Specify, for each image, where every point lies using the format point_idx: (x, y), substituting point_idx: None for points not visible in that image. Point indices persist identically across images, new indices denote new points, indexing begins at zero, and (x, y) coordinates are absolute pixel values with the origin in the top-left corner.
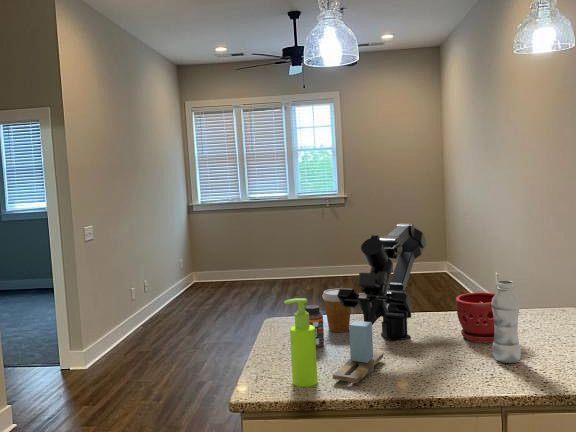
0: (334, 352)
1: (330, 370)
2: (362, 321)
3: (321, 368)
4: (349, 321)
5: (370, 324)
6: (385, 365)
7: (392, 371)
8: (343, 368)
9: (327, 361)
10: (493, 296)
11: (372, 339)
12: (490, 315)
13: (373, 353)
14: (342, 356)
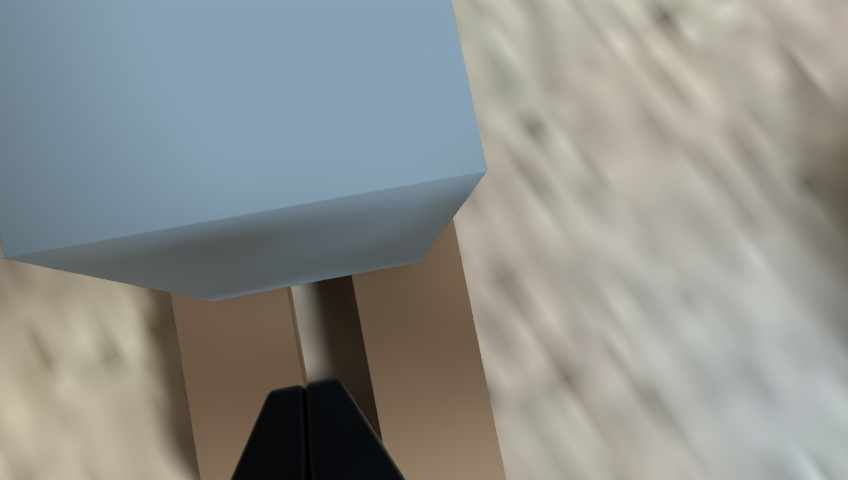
0: (826, 457)
1: (551, 16)
2: (270, 191)
3: (652, 14)
4: None
5: (8, 163)
6: (150, 421)
7: (7, 312)
8: None
9: (720, 195)
10: None
11: (146, 286)
12: None
13: None
14: (682, 400)
